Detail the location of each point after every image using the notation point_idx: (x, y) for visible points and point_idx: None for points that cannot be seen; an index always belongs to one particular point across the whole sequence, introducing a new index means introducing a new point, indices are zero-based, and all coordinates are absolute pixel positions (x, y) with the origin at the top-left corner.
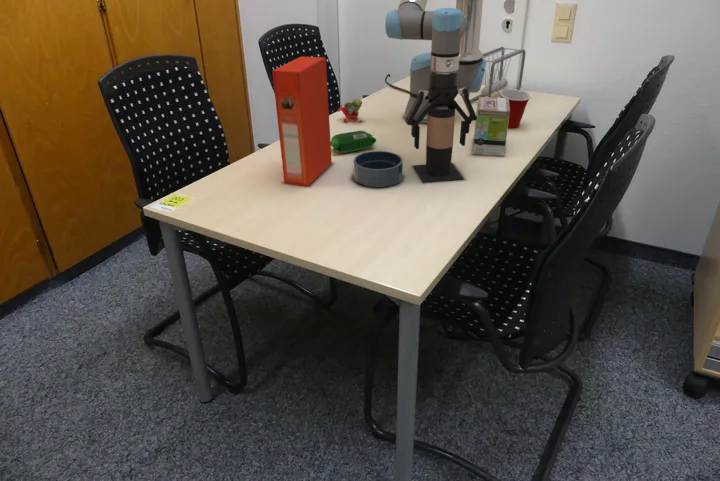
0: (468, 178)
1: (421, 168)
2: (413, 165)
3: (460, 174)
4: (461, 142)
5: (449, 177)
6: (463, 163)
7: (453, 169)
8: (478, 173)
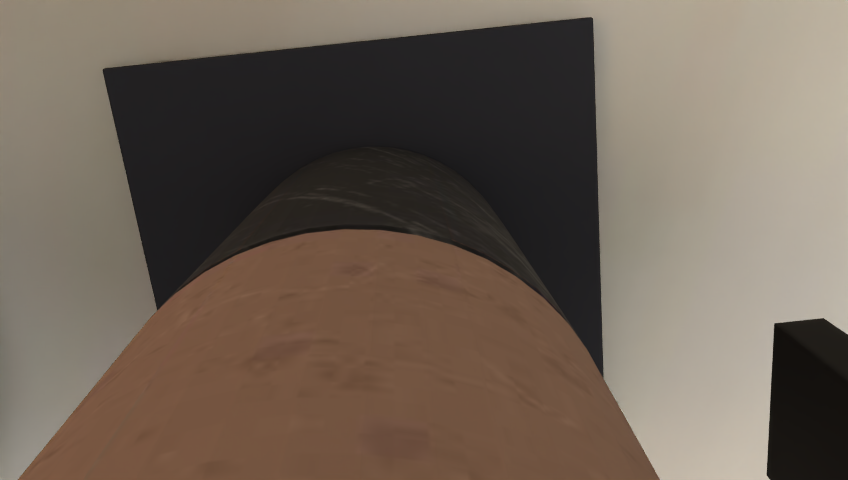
0: (658, 412)
1: (198, 175)
2: (103, 69)
3: (601, 358)
4: (792, 444)
5: None
6: (736, 20)
7: (563, 229)
8: (797, 308)
